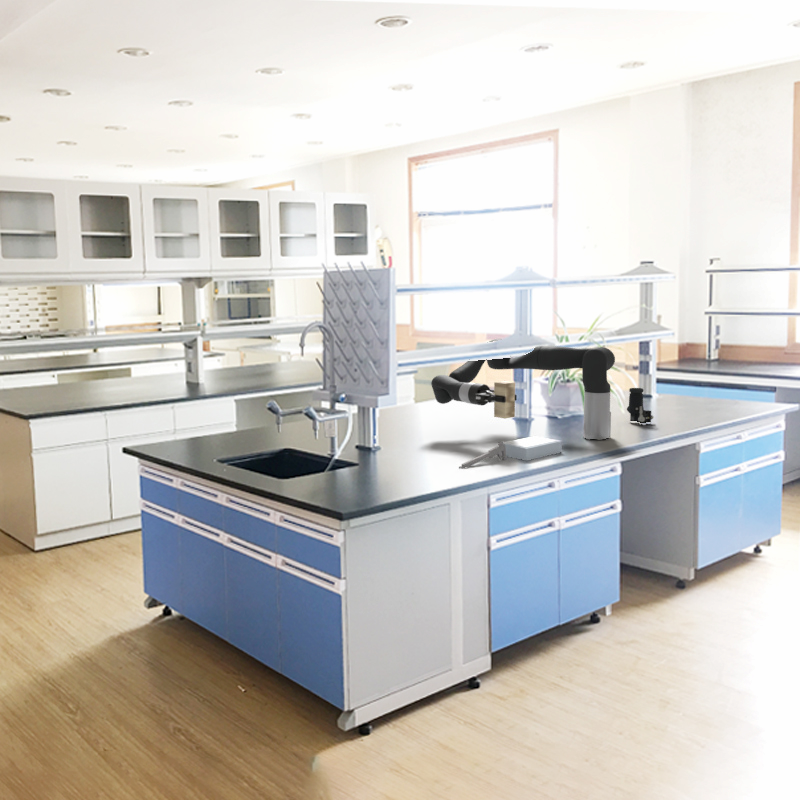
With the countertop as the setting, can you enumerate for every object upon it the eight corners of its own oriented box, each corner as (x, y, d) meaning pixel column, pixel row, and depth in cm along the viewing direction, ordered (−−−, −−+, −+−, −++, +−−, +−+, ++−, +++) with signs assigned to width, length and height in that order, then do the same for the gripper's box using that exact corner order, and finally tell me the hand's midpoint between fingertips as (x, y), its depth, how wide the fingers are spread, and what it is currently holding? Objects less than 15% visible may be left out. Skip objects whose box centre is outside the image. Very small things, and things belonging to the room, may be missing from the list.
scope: (642, 391, 330) (621, 388, 338) (641, 426, 332) (620, 422, 340) (655, 389, 335) (634, 386, 343) (654, 423, 337) (633, 420, 345)
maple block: (503, 415, 295) (504, 381, 293) (514, 416, 291) (515, 382, 289) (494, 416, 292) (494, 382, 290) (504, 418, 288) (505, 383, 286)
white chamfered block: (534, 447, 295) (534, 435, 294) (561, 452, 286) (561, 440, 285) (499, 454, 283) (499, 442, 282) (526, 460, 274) (526, 447, 273)
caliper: (503, 459, 277) (503, 440, 277) (506, 460, 277) (506, 441, 276) (458, 469, 265) (458, 449, 264) (461, 469, 264) (461, 449, 263)
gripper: (460, 385, 296) (496, 389, 283) (488, 381, 305) (524, 385, 292) (460, 406, 297) (496, 411, 284) (488, 401, 306) (524, 407, 294)
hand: (510, 398), depth 288 cm, fingers closed on maple block, 5 cm apart
